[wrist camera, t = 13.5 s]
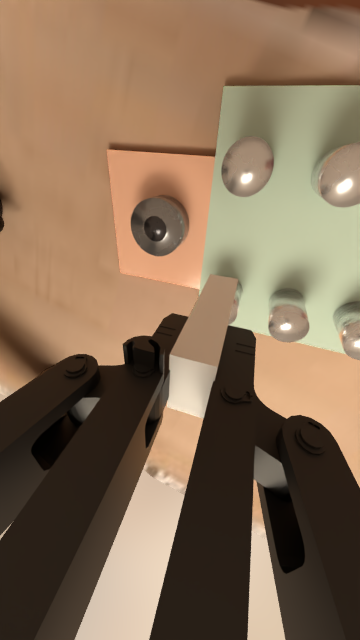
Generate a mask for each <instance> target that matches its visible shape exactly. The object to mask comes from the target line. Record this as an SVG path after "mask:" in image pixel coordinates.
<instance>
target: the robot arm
mask: <svg viewBox="0 0 360 640" xmlns="http://www.w3.org/2000/svg"><path fill="white" fill-rule="evenodd" d="M237 284H238V279H235V278H230V277H224V276H219V275H213V274H210V276H209V278H208V280H207V282H206V284H205V286H204V288H203V290H202V292H201V294H200V296H199V297H198V299H197V301H196V303H195V305H194V307H193V309H192V311H191V313H190V315H189V317H186V316H182V315H177V314H173V313H172V314H170V315H169V316H167V317H165V318H164V319H163V321H162V322H161V324H160V325H159V327H158V328H157V330H156V331H155V333H154V334H153V336H152V337H151V336H137V337H133V338H131V339H129V340H127V341H126V342H125V343H124V344H123V351H124V360H125V364H124V365H117V366H98V363H97V360H96V359H95V358H94V357H93V356H90V355H87V354H77V355H73V356H69V357H67V358H66V359H64V360H62V361H60V362H59V363H57V364H56V365H54V366H53V367H51V368H47V369H46V370H45V371H44V372H42V373H41V374H40V375H39V376H38V377H37V378H35V379H34V380H32V381H31V382H29V383H28V384H26V385H25V386H23V387H22V388H20V389H19V390H17V391H16V392H14V393H13V394H11V395H10V396H8V397H7V398H5V399H4V400H2V401H1V402H0V535H1V534H2V533H3V532H4V531H5V530H6V529H7V527H8V526H9V525H10V524H11V523H12V522H13V523H12V524H11V526H10V527H9V529H8V530H7V531H6V533H5V534H4V535H3V537H2V538H1V540H0V640H74V639H75V637H76V634H77V632H78V629H79V627H80V624H81V622H82V619H83V617H84V614H85V612H86V609H87V607H88V604H89V602H90V600H91V597H92V595H93V592H94V589H95V587H96V585H97V582H98V580H99V577H100V575H101V572H102V569H103V567H104V565H105V562H106V559H107V557H108V555H109V552H110V549H111V547H112V545H113V542H114V540H115V537H116V535H117V532H118V529H119V527H120V525H121V522H122V520H123V517H124V515H125V512H126V510H127V507H128V505H129V502H130V500H131V497H132V495H133V492H134V490H135V487H136V485H137V482H138V480H139V477H140V475H141V472H142V470H143V467H144V465H145V462H146V460H147V457H148V455H149V452H150V450H151V447H152V445H153V442H154V440H155V437H156V435H157V432H158V430H159V427H160V425H161V422H162V418H163V410H164V407H165V405H166V403H167V407H168V408H172V409H175V410H178V411H181V412H184V413H187V414H191V415H194V416H197V417H200V418H203V419H204V420H203V424H202V428H201V432H200V436H199V440H198V444H197V448H196V452H195V456H194V460H193V464H192V468H191V472H190V476H189V480H188V484H187V489H186V493H185V497H184V501H183V505H182V509H181V513H180V517H179V521H178V525H177V530H176V533H175V537H174V542H173V545H172V549H171V554H170V558H169V562H168V566H167V570H166V574H165V578H164V582H163V586H162V590H161V594H160V598H159V602H158V606H157V610H156V614H155V619H154V623H153V627H152V631H151V635H150V639H149V640H247V632H248V607H249V582H250V556H251V531H252V506H253V480H256V481H257V486H258V492H259V497H260V503H261V508H262V514H263V519H264V524H265V530H266V535H267V541H268V546H269V552H270V557H271V562H272V568H273V574H274V579H275V584H276V590H277V595H278V601H279V606H280V612H281V617H282V623H283V628H284V633H285V639H286V640H360V488H359V486H358V484H357V482H356V480H355V478H354V476H353V474H352V472H351V470H350V468H349V466H348V464H347V462H346V460H345V458H344V456H343V454H342V452H341V450H340V448H339V446H338V443H337V442H336V440H335V439H334V437H333V436H332V434H331V433H330V432H329V431H328V430H327V429H326V428H325V427H324V426H323V425H322V424H321V423H319V422H317V421H315V420H313V419H312V418H309V417H305V416H301V415H297V416H291V417H289V418H288V419H286V418H284V417H282V416H281V415H279V414H277V413H276V412H274V411H272V410H271V409H269V408H268V407H266V406H265V405H264V404H263V403H262V402H261V401H260V400H259V398H258V397H257V395H256V393H255V390H254V366H255V347H256V338H255V336H254V334H253V332H252V331H251V330H248V329H244V328H239V327H235V326H230V325H228V323H229V319H230V314H231V310H232V306H233V301H234V297H235V292H236V288H237ZM167 400H168V402H167Z"/></svg>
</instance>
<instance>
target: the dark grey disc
mask: <svg viewBox="0 0 360 640" xmlns="http://www.w3.org/2000/svg"><path fill="white" fill-rule="evenodd" d="M131 231H132V234H133V237H134V239H135V241H136V243H137V244H138V245H139V246H140V248H141V249H143V250H144V251H145V252H147V253H148V254H151V255H154V256H165V255H168V254H170V253H171V252H173V251H174V250H175V249H176V248H177V247H179V246H180V245H181V244H182V243H183V242H184V241H185V239H186V237H187V235H188V232H189V218H188V214H187V212H186V210H185V208H184V206H183V205H182V204H181V203H180V202H179V201H178V200H177V199H175V198H173V197H171V196H168V195H159V196H155V197H152V198H148V199H145V200H143V201H141V202H140V203H139V204H137V206H136V207H135V208H134V210H133V213H132V216H131Z"/></svg>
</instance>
